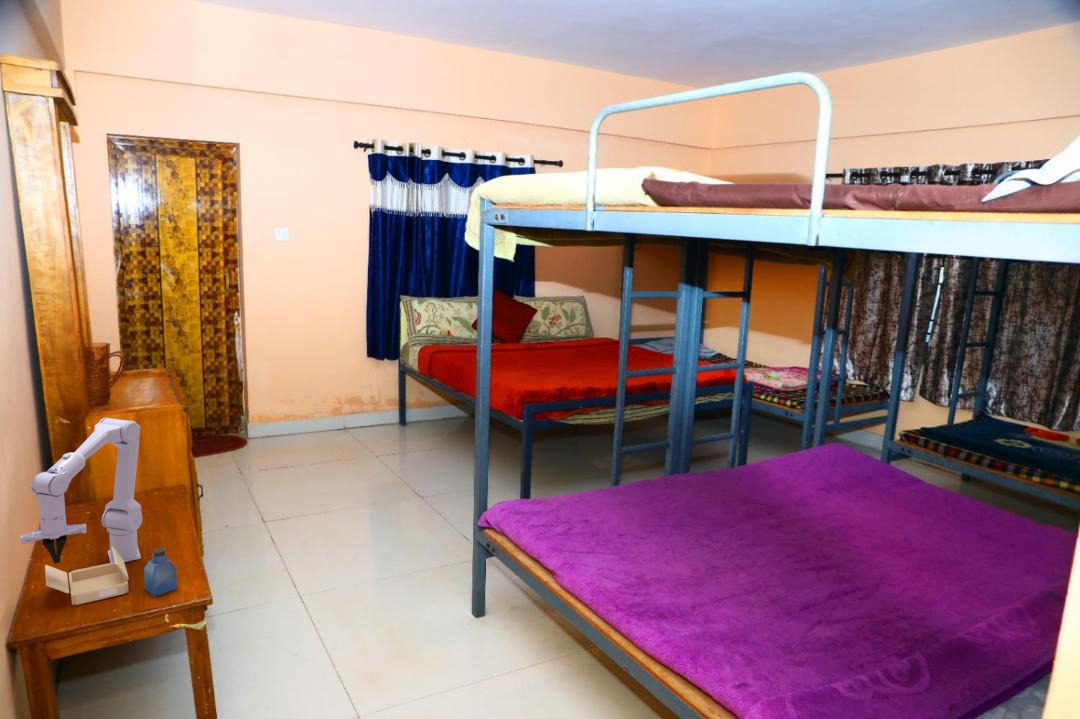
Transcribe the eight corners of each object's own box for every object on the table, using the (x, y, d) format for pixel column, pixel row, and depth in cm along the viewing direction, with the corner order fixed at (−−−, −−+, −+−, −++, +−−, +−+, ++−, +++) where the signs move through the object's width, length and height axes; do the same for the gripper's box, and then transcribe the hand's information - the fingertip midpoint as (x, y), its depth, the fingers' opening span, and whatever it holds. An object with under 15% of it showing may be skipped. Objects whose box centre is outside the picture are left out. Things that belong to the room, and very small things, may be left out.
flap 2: (122, 561, 204) (111, 546, 202) (123, 560, 204) (112, 546, 202) (127, 579, 195) (115, 564, 192) (128, 579, 195) (117, 563, 193)
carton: (69, 581, 198) (68, 571, 198) (122, 569, 206) (121, 560, 206) (72, 606, 186) (71, 596, 186) (128, 593, 194) (128, 583, 194)
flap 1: (65, 573, 196) (44, 566, 193) (66, 572, 196) (45, 564, 193) (68, 593, 187) (46, 585, 183) (69, 592, 187) (47, 584, 183)
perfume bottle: (167, 580, 202) (165, 542, 200) (177, 588, 198) (175, 550, 196) (145, 588, 197) (142, 549, 195) (154, 596, 194) (152, 557, 191)
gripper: (18, 527, 179) (23, 574, 182) (85, 515, 187) (89, 561, 190) (19, 516, 184) (23, 563, 187) (84, 506, 193) (87, 550, 196)
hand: (56, 561), depth 189 cm, fingers closed
